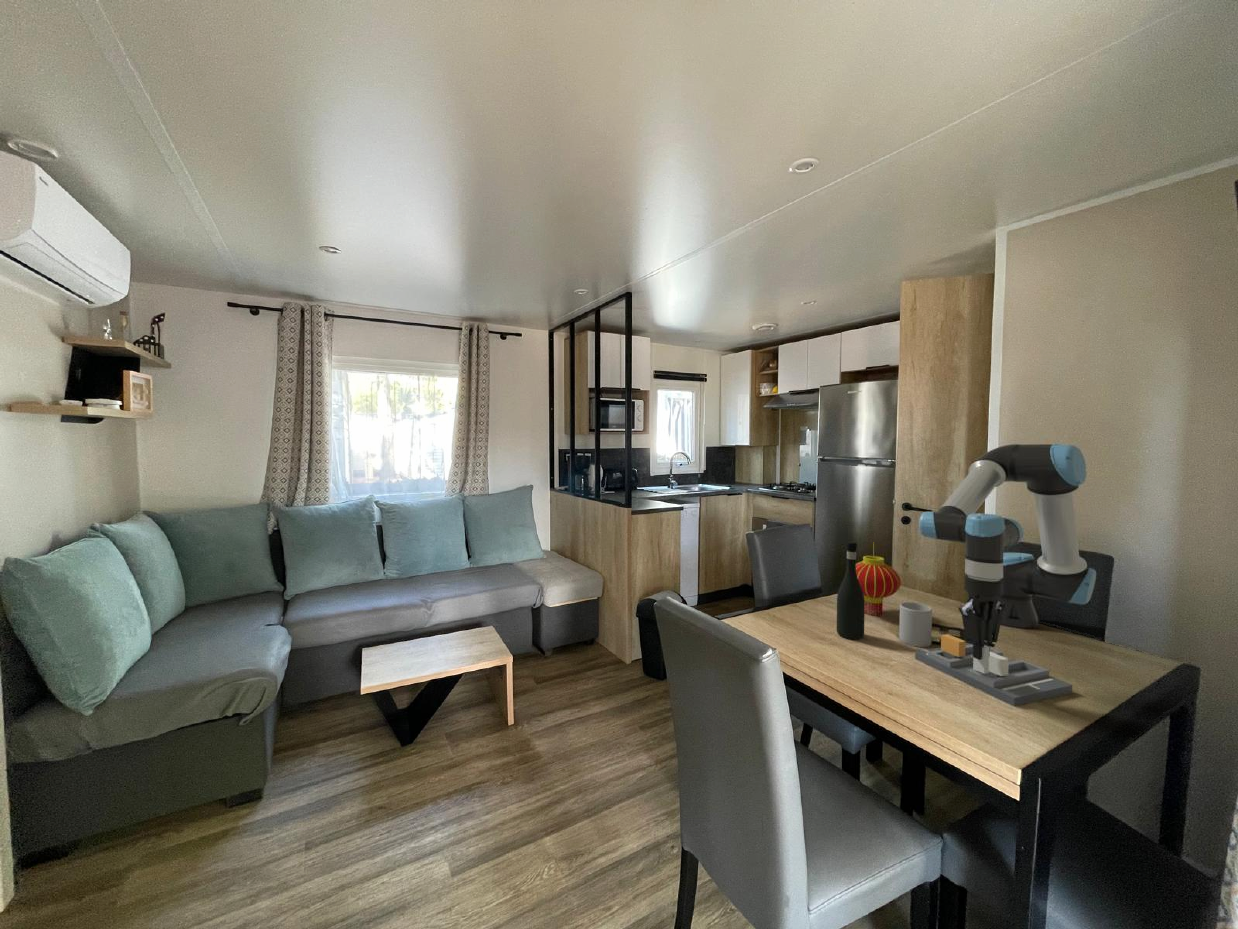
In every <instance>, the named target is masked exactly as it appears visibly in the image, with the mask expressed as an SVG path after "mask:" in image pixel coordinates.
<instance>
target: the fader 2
mask: <svg viewBox="0 0 1238 929" xmlns="http://www.w3.org/2000/svg"><path fill="white" fill-rule="evenodd" d="M1009 660H1010V659H1009V658H1007V657H1005V656H1004V655H1003V656H1000V655H998V654H995V653H993V652H990V656H989V673H986V674H983V675H985V676H987V677H990V678H992V679H993V678H998V677H1003V676H1005V675H1008V666H1009Z"/></svg>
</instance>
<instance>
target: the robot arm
mask: <svg viewBox="0 0 1238 929" xmlns="http://www.w3.org/2000/svg"><path fill="white" fill-rule="evenodd" d="M1085 459H1086V458H1085V456H1084V454H1083V452H1082V451H1081V449H1080V448H1079V447H1077V446H1076V445H1074V444H1060V443H1053V444H1051V443H1049V444H1048V443H1047V444H1045V443H1044V444H1038V443H1037V444H1018V443H1017V444H1016V443H1011V444H1005V445H1001V446H999V447H996V448H993V449H991V450H989V451H987V452H985V453H984V454H982V455H980V456H979V457H977V458H976V459H975V460H974V461H973V463H971V465H970V466H969V468H968V474H967V475H966V476H965V478H963V480H962V481H961V483H959V485H958V486H957V487H956V488H955V490H954V491H953V492H952V493H951V495H949V497H948V498H947V499H946V501H945V502H944V503H943V504H942V505H941V507H940V508H939V509H938V510H937V511H924V512H922V513H921V515H920V516H919V520H918V528H919V532H920V535H922V536H923V537H925V538H930V539H935V540H937V541H939V540H940V541H946V542H947V541H948V542H954V543H961V544H964V545H965V546H964V547H965V550H964V551H965V552H964V553H965V555H964V558H965V560H964V561H965V563H964V574H966V575H965V576H964V584H963V589H964V591H965V592H967V594H968V595H967V599H966V604H965V605H964V606H963V605H959V607H958V610H959V612H960V614H961V619H962V624H963V630H964V631H963V632H964V637H965V641H966V643H969V644H973V669H975V670H977V671H979V672H981V673H983V674H986V673H989V656H990V647H991V648H995V647H996V644H994V643H997V642H998V638H999V634H1000V630H1001V629H1000V628H1001V625H1002V626H1007V627H1012V628H1021V629H1033V628H1037V627H1038V626H1039V617H1038V614H1037V612H1036V609H1035V606H1034V604H1033V596H1035V597H1041V598H1046V599H1051V600H1054V601H1060V602H1065V603H1068V604H1077V605H1086V604H1088V603H1089V601H1090V600H1091V599H1092V595H1093V593H1094V592H1093V591H1094V589H1095V585H1096V581H1097V580H1096V579H1097V571H1096V570H1095V569H1094V568H1092V567H1088V564H1087V563H1088V562H1087V561H1086V560H1085V559H1084V558H1083V557H1081V556H1080V553H1079V552H1080V550H1079V542H1078V541H1079V540H1078V532H1077V521H1076V514H1075V502H1074V493H1075V492H1076V491H1077V490H1079V486H1081V485H1083V484H1084V483H1085V482H1086V477H1087V471H1086V469H1087V464H1086V460H1085ZM1005 482H1007V483H1008V482H1014V483H1015V482H1016V483H1026V489H1027V491H1028V492H1030V493H1031V494H1034V495H1033V496H1034V502H1035V508H1036V509H1035V510H1036V517H1037V518H1036V519H1037V525H1038V532H1039V537H1040V538H1039V539H1040V546H1041V553H1042V554H1041V556H1039V557H1038V558H1037V559H1035V556H1034V555H1033V554H1031V553H1026V552H1025V553H1023V552H1004V550H1005V549H1009V548H1013V547H1015V546H1016V545H1018V544H1019V543H1020V542H1021V541H1022V540H1023V538H1024V536H1025V535H1024V534H1025V533H1024V528H1023V527H1022V525H1021V524H1020V523H1019V522H1018V521H1017V520H1015V519H1013V518H1010V517H1002V516H1001V515H998V514H990V513H976V512H977V511H978V510H979V509H980V507H981V506H982V504H983V503H985V501H986V500H987V499H988V497H989V495H990V494H991V493H992V491H993V490H994V489H995V488H997V487H1000V486H1001V485H1002V484H1004V483H1005Z"/></svg>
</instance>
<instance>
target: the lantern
mask: <svg viewBox="0 0 1238 929" xmlns="http://www.w3.org/2000/svg"><path fill="white" fill-rule="evenodd" d="M872 544H873V549H872V550H873V555H865V556H863V557H862V559H863V560H862V561H859V562H856V574H857V578H858V581H859V583H860V586H861V588H862V591H863V594H864V600H865V614H866V615H868V616H875V617H879V614H883V604H884V602H883V600H884V598H888V597H891V596H893V595H895V594H896V593H897V592H898V591H899V590H900V588H901V584H902V582H901V576H900V575H899V573H898V572H897V570H895V569H894V568H893V567H891V565H888V564H886V563H885V559H884V557H881V556H875V543H872Z"/></svg>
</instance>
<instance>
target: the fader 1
mask: <svg viewBox="0 0 1238 929" xmlns="http://www.w3.org/2000/svg"><path fill="white" fill-rule="evenodd" d="M965 643H967V642H966V640H964V639H961V638H958V637H957V636H956V637H955V636H953V635H951V634H947V633H946V634H942V635H940V647H941V650H943V657H945V658H947V659H954V658H960V657H963V656H965Z"/></svg>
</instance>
